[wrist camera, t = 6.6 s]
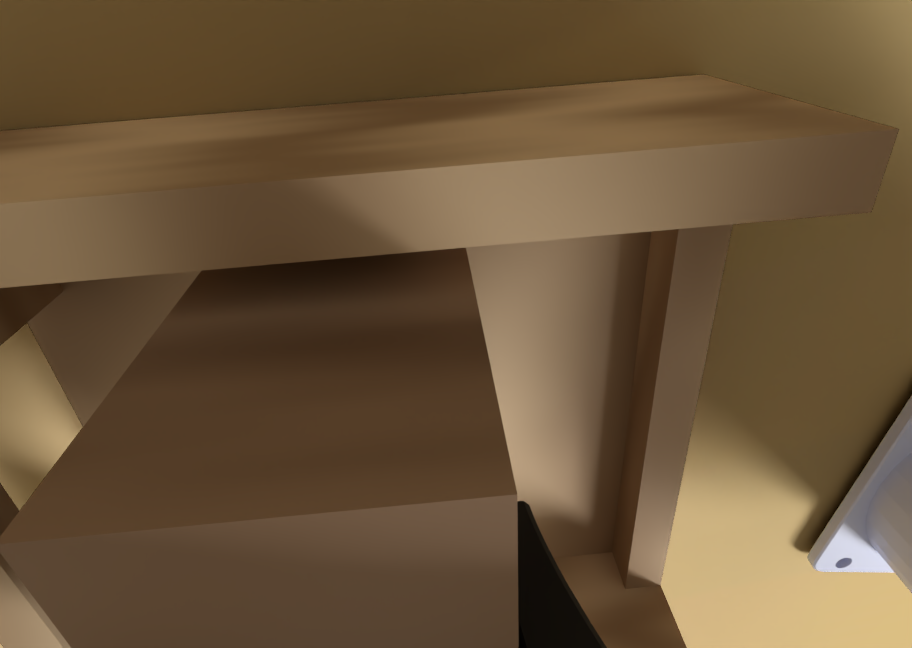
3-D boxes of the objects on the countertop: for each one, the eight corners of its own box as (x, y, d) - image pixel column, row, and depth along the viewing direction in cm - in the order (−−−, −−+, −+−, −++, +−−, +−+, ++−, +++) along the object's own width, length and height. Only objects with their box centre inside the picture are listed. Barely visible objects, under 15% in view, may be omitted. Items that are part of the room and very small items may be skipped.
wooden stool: (703, 74, 11) (898, 129, 6) (632, 547, 18) (702, 722, 14) (-38, 134, 10) (-355, 233, 6) (193, 591, 18) (122, 785, 13)
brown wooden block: (223, 241, 9) (-7, 545, 4) (460, 221, 9) (517, 494, 4) (329, 599, 15) (284, 932, 9) (482, 584, 15) (520, 905, 9)
